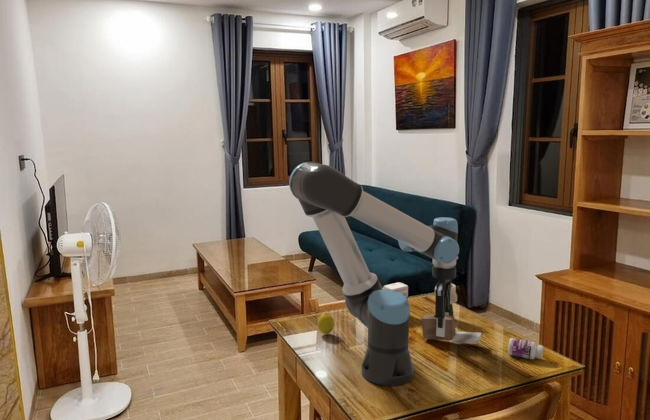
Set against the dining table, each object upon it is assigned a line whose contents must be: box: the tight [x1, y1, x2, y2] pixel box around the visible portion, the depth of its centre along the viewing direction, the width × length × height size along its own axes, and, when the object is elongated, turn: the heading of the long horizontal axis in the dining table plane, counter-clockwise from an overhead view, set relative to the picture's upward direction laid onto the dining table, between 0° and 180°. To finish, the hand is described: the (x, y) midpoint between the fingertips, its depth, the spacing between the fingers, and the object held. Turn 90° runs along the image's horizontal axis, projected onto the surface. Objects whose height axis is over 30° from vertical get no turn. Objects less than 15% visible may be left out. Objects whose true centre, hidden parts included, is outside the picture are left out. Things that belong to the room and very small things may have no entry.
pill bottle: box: [507, 337, 544, 360], centre depth 154 cm, size 5×5×10 cm
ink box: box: [382, 281, 409, 300], centre depth 189 cm, size 8×5×12 cm, turn 123°
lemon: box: [317, 312, 335, 336], centre depth 171 cm, size 6×6×8 cm
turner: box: [421, 314, 482, 345], centre depth 163 cm, size 18×7×7 cm, turn 64°
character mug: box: [434, 283, 458, 316], centre depth 185 cm, size 11×7×13 cm, turn 32°
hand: (442, 333), depth 165 cm, fingers closed on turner, 4 cm apart
